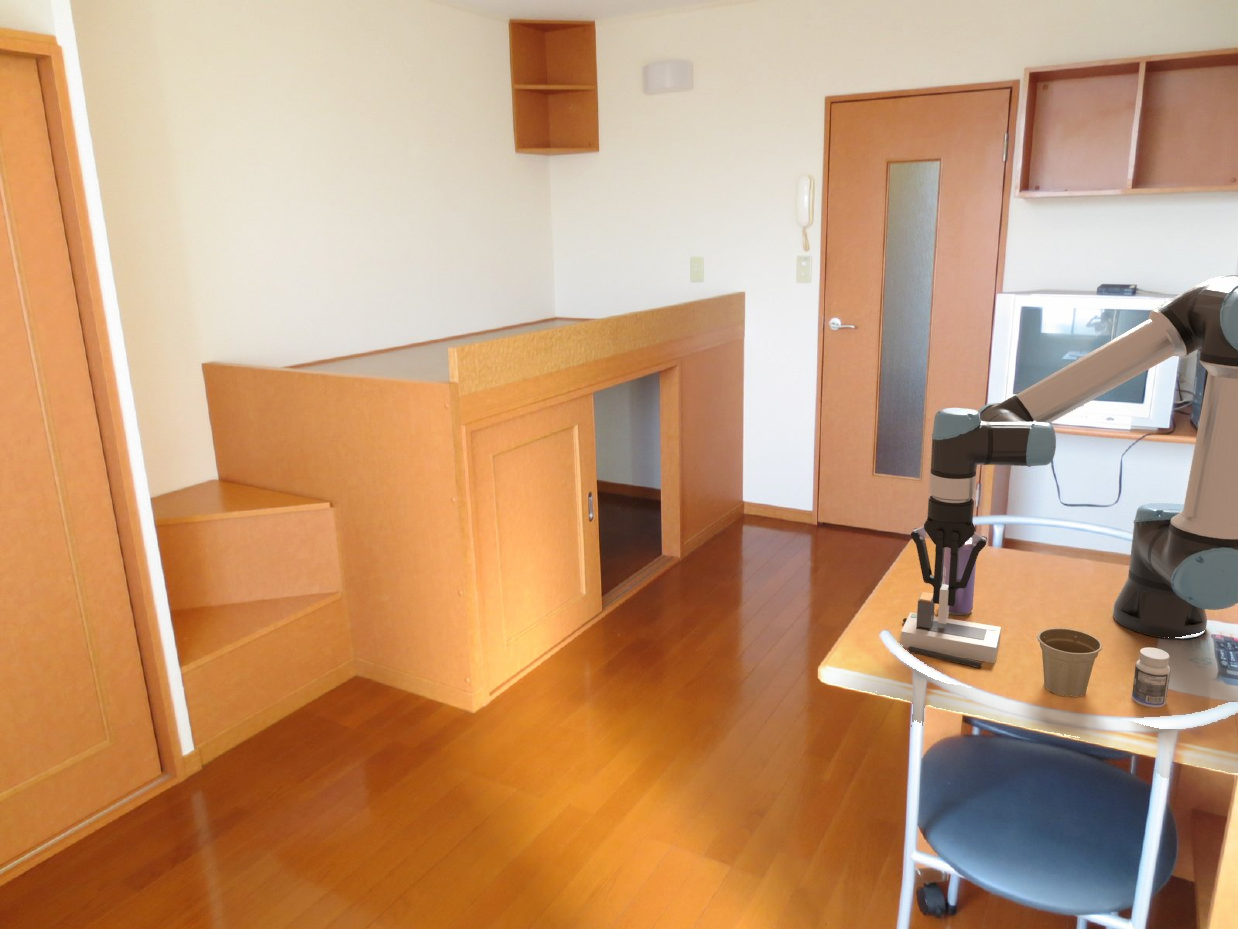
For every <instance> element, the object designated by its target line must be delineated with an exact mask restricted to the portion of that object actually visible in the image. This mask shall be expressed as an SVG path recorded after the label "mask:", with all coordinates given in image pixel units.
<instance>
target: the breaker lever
mask: <svg viewBox="0 0 1238 929" xmlns="http://www.w3.org/2000/svg"><path fill="white" fill-rule="evenodd" d="M935 606H936V604H935V603H934V602H933V592H925V591H922V592H921V593H920V595H919V597H918V600H917V609H916V610H917V611H916V612H917V626H919V627H925V628H931V625H932V623H933V620H934V616H935Z"/></svg>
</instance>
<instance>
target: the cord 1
mask: <svg viewBox="0 0 1238 929" xmlns="http://www.w3.org/2000/svg"><path fill="white" fill-rule="evenodd" d="M908 650H909V651H910V653H913V654H916V655H917V654H918V655H923V656H927V657H931V658H936V659H940V660H943V661H949V662H953V663H957V664H960V665H966V666H971V667H975V668H978V669H980V668H981V667H982V662H983V661H979V660H973V659H968V658H962V657H956V656H951V655H947V654H943V653H938V652H934V651H929V650H925V649H920V648H916V647H911V646H910V647H908V648H907V651H908ZM909 651H908V652H909Z"/></svg>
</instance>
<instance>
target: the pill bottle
mask: <svg viewBox="0 0 1238 929" xmlns="http://www.w3.org/2000/svg"><path fill="white" fill-rule="evenodd" d="M1169 662H1170V654H1169V653H1168V651H1167V652H1166V651H1165V650H1163V649H1161V648H1157V647H1148V646H1147V647H1143V648H1141V649H1140V651H1139V656H1138V660H1137V661H1135V668H1134V675H1133V682H1132V690H1131V692H1132V693H1131V698H1132V700H1133V701H1134V702H1136V703H1137V704H1139V705H1142V706H1143V707H1148V708H1152V709H1153V708H1154V709H1157V708H1162V707H1164V706H1166V704H1167V699H1168V689H1169V684H1170V676H1171V667H1170V666H1169Z"/></svg>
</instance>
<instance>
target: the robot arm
mask: <svg viewBox="0 0 1238 929" xmlns="http://www.w3.org/2000/svg"><path fill="white" fill-rule="evenodd" d="M1198 350H1200V355H1199V359H1198V360H1199V361H1198V362H1199V363H1200V365H1202V367H1204V369H1205V370H1206V372H1207V377H1206V383H1205V388H1204V393H1203V394H1204V395H1203V399H1202V405H1201V411H1200V415H1199V421H1198V427H1197V432H1196V438H1195V444H1194V449H1193V455H1192V460H1191V465H1190V471H1189V476H1188V482H1187V488H1186V494H1185V498H1184V502H1183V503H1182V504H1181V503H1171V502H1170V503H1169V502H1166V503H1165V502H1164V503H1163V502H1155V503H1145V504H1142V505H1140V506H1139V507H1138V508H1137V509H1136V513H1135V518H1134V520H1133V530H1132V531H1133V532H1132V538H1131V539H1132V540H1131V541H1132V542H1131V547H1130V548H1131V550H1130V558H1129V559H1130V560H1129V566H1128V568H1129V569H1128V576H1127V579H1126V581H1125V583H1124V585H1123V587H1122V588H1121V590H1120V593H1118V596H1117V598H1116V600H1115V601H1114V605H1113V610H1112V611H1113V612H1112V616H1113V619H1114V620H1115V621H1116V622H1117V623H1118V624H1120V625H1121V626H1123V627H1125V628H1127V629H1129V630H1131V631H1133V632H1137V633H1140V634H1143V635H1146V636H1151V637H1154V638H1161V639H1168V637H1169V638H1175V637H1182V636H1186V635H1191V634H1196V633H1200V632H1202V631H1204V630H1205V629H1206V630H1207V624H1208V618H1207V617H1208V616H1207V612H1206V610H1208V611H1209V610H1211V611H1218V610H1219V611H1220V610H1224V609H1228V608H1232V607H1234V606H1235V605H1236V604H1238V275H1234V274H1233V275H1232V274H1231V275H1221V276H1217V277H1213V278H1209V279H1207V280H1204V281H1203V282H1201V283H1198V284H1196V285H1195V286H1193V287H1191V288H1189V289H1186V291H1183V292H1182V293H1179V294H1178V295H1176V296H1175V297H1173V298H1172V299H1169V300H1168V301H1165V303H1163V304H1161V305H1159V306H1157V307H1156V308H1154V309H1152V310H1151V311H1150V312H1149V316H1148V318H1147V320H1145V321H1143V322H1142V323H1139V324H1138V325H1136V326H1135V327H1132V328H1131V329H1129V330H1127V331H1125V332H1123V333H1122V334H1120V335H1118V336H1117V337H1115V338H1113V339H1111V340H1110V341H1108V342H1106V343H1105V344H1103V345H1101V346H1100V347H1097V348H1096V349H1094V350H1092V351H1091V352H1089V353H1087V354H1085V355H1083V356H1082V357H1080V358H1078V359H1077V360H1075V361H1073V362H1071V363H1070V364H1068V365H1066V366H1064V367H1063V368H1061V369H1059V370H1057V371H1055V372H1053V373H1052V374H1050V375H1048V376H1046V377H1045V378H1043V379H1041V380H1039V381H1038V382H1036V383H1034V384H1033V385H1031V386H1029V387H1028V388H1025V389H1024V390H1022V391H1020V392H1018V393H1016V394H1015V395H1013V396H1011V397H1009V398H1007V399H1006V400H1004V401H1002V402H991V403H988V404H985V405H983V406H982V407H981V408H980V409H979V410H976V409H973V408H972V409H971V408H962V407H947V408H942V409H940V410H938V411H937V412H936V414H935V415H934V418H933V419H934V421H933V429H932V433H931V451H930V452H931V456H930V471H929V484H928V485H929V486H928V488H929V489H928V493H929V494H930V496H929V497H928V501H927V505H928V506H927V518H926V520H925V522H924V524H923V526H920V527H919V528H917V527H915V528H913V530H912V531H911V532H910V537H911V539H912V540H913V542H914V544H915V545H916V551H917V555H918V561H919V566H920V569H921V570H920V571H921V575H922V579H923V582H924V583H925V584H929V585H930V586H932V587H933V592H932V593H933V602H934V603H935V605H936V604H937V605H938V612H937V614H938V615H937V617H938V623H943V624H946V623H947V620H948V619H949V615H950V614H949V606H954V604H955V602H956V591H957V589H959V588H963V589H964V588H966V586H967V584H968V581H969V578H970V575H971V573H972V570H973V567H974V565H975V562H976V563H977V559H978V557H979V554H980V552H981V551H982V550H983V549H984V548H985V547H986V545H987V544H988V537H987V536H986V535H981V534H979V533H978V532H976V526H975V525H974V522H973V519H974V510H975V509H974V508H975V506H974V505H975V501H974V499H973V498H974V497H975V495H976V481H977V479H976V477H977V469H978V466H1012V467H1013V466H1014V467H1015V466H1016V467H1020V466H1021V467H1028V468H1031V467H1037V466H1038V467H1040V466H1047V465H1050V463H1052V462H1053V460H1054V458H1055V454H1056V450H1057V449H1056V448H1057V437H1056V436H1057V435H1056V431H1055V428H1054V426H1053V425H1052V424H1051V423H1053V422H1054V421H1057V420H1058V419H1061V418H1062V417H1064V416H1066V415H1067V414H1069V413H1071V412H1073V411H1075V410H1078V408H1081V407H1082V406H1084V405H1085V404H1088V403H1089V402H1091V401H1093V400H1095V399H1097V398H1099V397H1101V396H1102V395H1104V394H1106V393H1108V392H1110V391H1112V390H1113V389H1116V388H1118V387H1119V386H1120V385H1123V384H1125V383H1126V382H1128V381H1129V380H1132V379H1134V378H1136V377H1137V376H1139V375H1141V374H1142V373H1143V374H1144V372H1146V371H1147V370H1150V369H1153V367H1156V366H1158V364H1161V363H1162V362H1164V361H1167V360H1168V359H1170V358H1172V357H1179V358H1184V357H1186V356H1188V355H1190V354H1192V353H1193V352H1196V351H1198ZM927 535H928V537H929V538H930V540H931V541H932V543H933V544H934V545H935V550H934V551H935V556H934V571H933V573H934V574H933V573H932V566H931V562H930V558H929V556H930V555H929V551H928V546H927V542H926V537H927ZM970 538H972V545H973V549H972V551H971V554H970V557H969V559H968V562H967V565H966V568H965V570H964V573H963V576H962V579H958V567H959V553H960V547H962V546H963V545H964V544H965V543H966V542H967V541H968V540H969V539H970ZM945 547H948V548H951V552H950V554H951V557H950V572H949V585H946V584H942V581H943V566H944V551H945ZM1164 637H1165V638H1164Z"/></svg>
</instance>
